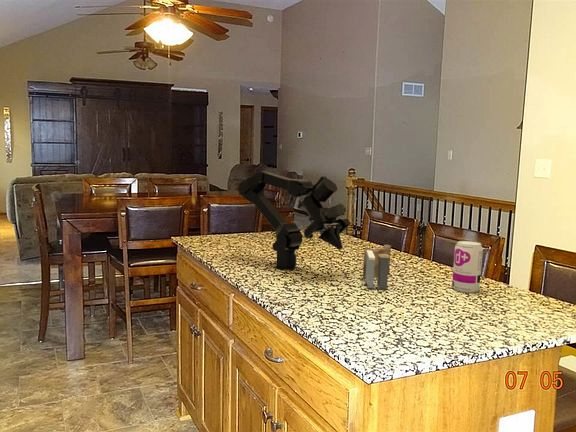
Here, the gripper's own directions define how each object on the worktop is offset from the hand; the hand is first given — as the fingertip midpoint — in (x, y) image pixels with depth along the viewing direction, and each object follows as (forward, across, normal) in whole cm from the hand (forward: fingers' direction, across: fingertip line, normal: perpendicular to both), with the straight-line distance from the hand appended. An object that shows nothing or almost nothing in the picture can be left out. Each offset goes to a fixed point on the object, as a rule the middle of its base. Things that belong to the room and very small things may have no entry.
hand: (341, 248), depth 174 cm
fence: (+11, +15, +4) cm, 19 cm away
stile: (+18, +2, -3) cm, 18 cm away
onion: (+7, +23, +8) cm, 26 cm away
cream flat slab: (+14, +3, 0) cm, 14 cm away
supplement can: (+31, +22, -16) cm, 41 cm away
